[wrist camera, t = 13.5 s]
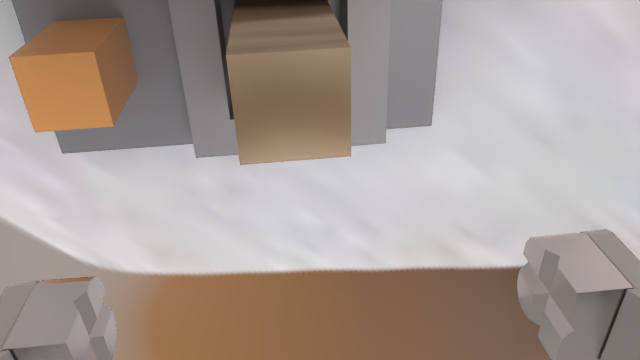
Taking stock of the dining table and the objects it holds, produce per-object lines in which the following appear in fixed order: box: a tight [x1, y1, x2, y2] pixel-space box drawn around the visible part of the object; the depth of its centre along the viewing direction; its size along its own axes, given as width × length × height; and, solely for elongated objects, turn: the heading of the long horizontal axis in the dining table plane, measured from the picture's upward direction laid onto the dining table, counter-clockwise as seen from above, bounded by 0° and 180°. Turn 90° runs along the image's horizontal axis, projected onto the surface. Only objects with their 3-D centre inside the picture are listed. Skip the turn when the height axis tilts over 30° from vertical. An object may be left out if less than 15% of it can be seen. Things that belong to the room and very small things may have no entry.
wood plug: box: [226, 0, 351, 165], centre depth 21 cm, size 4×4×8 cm
